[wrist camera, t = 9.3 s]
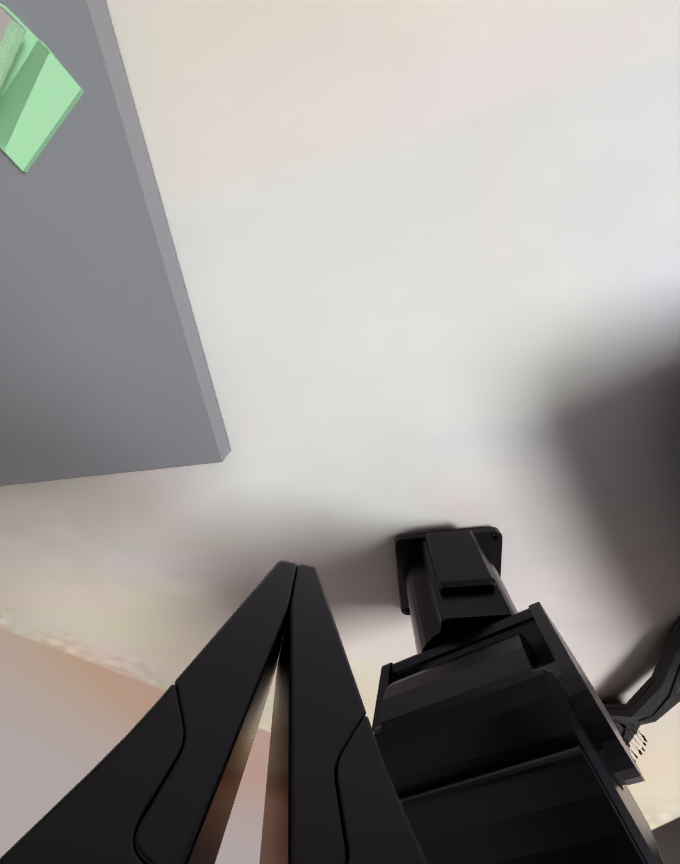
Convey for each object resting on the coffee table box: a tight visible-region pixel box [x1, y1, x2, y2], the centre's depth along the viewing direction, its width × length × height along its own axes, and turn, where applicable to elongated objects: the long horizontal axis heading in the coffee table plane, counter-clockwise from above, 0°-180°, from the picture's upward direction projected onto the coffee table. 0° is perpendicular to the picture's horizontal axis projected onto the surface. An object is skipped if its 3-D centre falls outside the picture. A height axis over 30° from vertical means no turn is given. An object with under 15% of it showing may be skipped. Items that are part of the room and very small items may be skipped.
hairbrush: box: [603, 618, 680, 762], centre depth 27 cm, size 8×4×25 cm
